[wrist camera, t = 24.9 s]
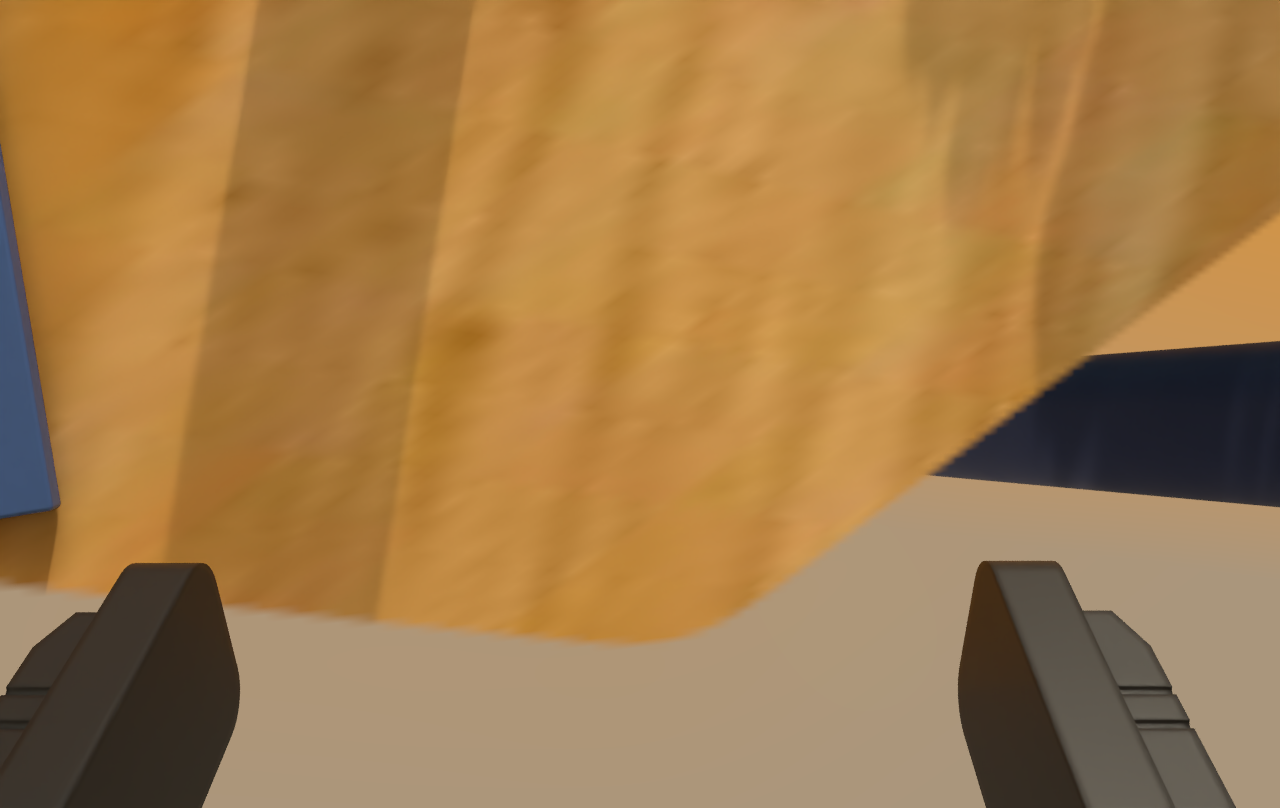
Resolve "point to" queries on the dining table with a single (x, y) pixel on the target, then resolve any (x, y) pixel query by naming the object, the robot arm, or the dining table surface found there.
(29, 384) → the blue paddle stick
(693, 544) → the dining table surface
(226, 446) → the dining table surface
